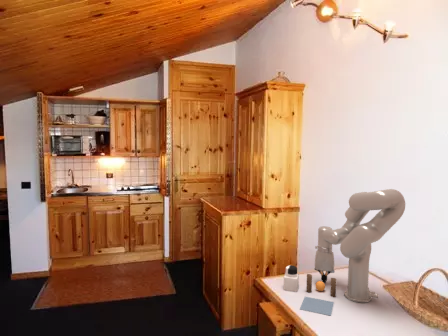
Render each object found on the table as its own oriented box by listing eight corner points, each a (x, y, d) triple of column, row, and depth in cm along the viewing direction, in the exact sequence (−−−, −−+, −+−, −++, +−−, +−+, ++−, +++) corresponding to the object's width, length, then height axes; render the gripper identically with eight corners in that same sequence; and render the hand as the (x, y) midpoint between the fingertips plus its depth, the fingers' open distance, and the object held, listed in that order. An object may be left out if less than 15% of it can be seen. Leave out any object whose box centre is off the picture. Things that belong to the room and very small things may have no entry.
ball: (323, 293, 167) (325, 290, 172) (324, 284, 167) (326, 281, 171) (314, 291, 170) (315, 287, 174) (315, 281, 169) (316, 278, 174)
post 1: (311, 291, 170) (312, 274, 170) (311, 293, 168) (311, 276, 167) (306, 290, 171) (307, 273, 171) (306, 292, 169) (306, 275, 168)
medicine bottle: (298, 286, 175) (299, 265, 175) (297, 292, 169) (297, 269, 168) (285, 284, 178) (285, 263, 177) (283, 290, 171) (283, 268, 170)
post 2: (336, 295, 165) (336, 278, 165) (335, 297, 163) (336, 280, 162) (330, 294, 166) (331, 277, 166) (330, 296, 164) (330, 279, 163)
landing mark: (333, 302, 158) (333, 301, 158) (330, 315, 145) (330, 315, 145) (304, 296, 163) (304, 296, 163) (299, 309, 151) (299, 309, 151)
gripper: (310, 249, 177) (309, 281, 178) (338, 253, 171) (337, 286, 172) (312, 245, 184) (311, 277, 185) (339, 249, 178) (338, 281, 179)
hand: (324, 281), depth 179 cm, fingers closed
